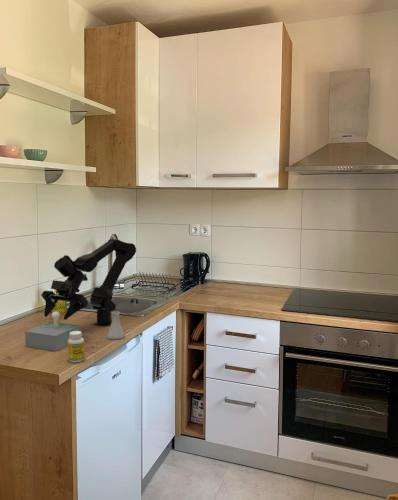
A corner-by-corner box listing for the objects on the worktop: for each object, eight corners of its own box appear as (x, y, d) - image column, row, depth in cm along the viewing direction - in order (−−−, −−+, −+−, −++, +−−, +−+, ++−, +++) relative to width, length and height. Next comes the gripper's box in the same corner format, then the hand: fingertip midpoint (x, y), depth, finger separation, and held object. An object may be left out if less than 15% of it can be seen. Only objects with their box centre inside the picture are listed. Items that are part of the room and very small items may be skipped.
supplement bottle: (81, 356, 158) (80, 329, 157) (87, 360, 154) (86, 333, 153) (66, 359, 155) (65, 332, 154) (71, 364, 151) (70, 336, 150)
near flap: (51, 322, 180) (50, 306, 179) (79, 326, 175) (79, 309, 174) (39, 327, 174) (38, 310, 173) (68, 331, 169) (68, 314, 168)
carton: (51, 335, 181) (51, 321, 180) (80, 339, 176) (80, 325, 175) (25, 346, 168) (25, 331, 167) (56, 351, 163) (55, 336, 162)
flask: (126, 334, 182) (126, 310, 181) (124, 340, 175) (123, 315, 174) (108, 334, 182) (107, 310, 181) (105, 340, 175) (104, 315, 174)
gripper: (43, 270, 178) (23, 303, 169) (82, 273, 171) (64, 309, 162) (57, 286, 186) (39, 319, 178) (95, 290, 179) (78, 324, 170)
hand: (54, 317), depth 172 cm, fingers open, 9 cm apart
